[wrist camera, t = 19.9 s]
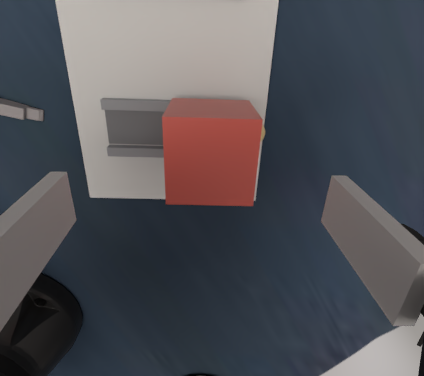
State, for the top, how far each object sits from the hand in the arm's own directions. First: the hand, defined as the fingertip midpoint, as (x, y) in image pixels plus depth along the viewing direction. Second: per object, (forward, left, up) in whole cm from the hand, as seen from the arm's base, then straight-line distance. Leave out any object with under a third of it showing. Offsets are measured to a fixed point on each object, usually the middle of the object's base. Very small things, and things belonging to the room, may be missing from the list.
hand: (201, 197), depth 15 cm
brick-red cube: (0, 0, -10) cm, 10 cm away
